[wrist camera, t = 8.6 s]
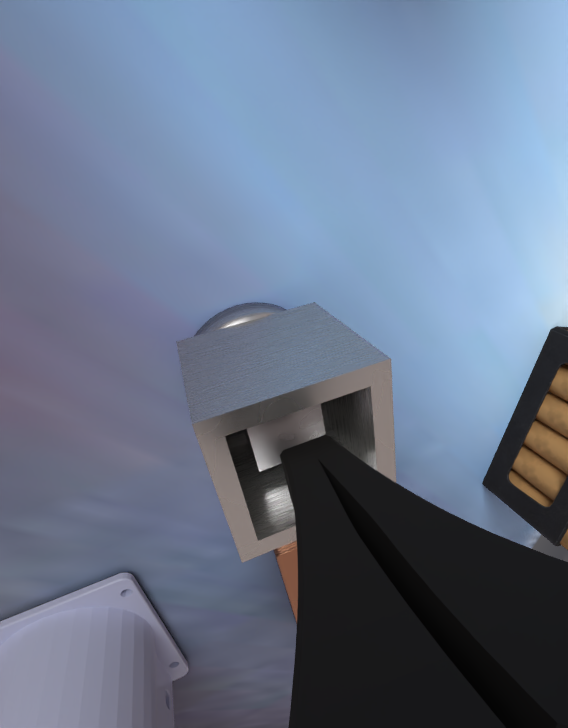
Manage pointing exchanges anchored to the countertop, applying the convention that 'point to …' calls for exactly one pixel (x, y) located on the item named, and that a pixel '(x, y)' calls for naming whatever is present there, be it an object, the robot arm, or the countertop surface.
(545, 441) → the ammunition clip
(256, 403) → the hollow square box
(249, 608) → the countertop surface
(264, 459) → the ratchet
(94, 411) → the countertop surface
